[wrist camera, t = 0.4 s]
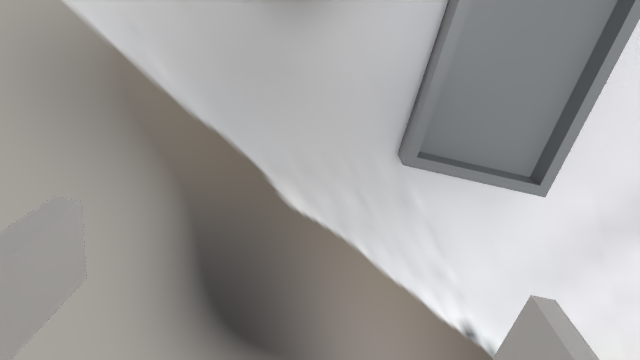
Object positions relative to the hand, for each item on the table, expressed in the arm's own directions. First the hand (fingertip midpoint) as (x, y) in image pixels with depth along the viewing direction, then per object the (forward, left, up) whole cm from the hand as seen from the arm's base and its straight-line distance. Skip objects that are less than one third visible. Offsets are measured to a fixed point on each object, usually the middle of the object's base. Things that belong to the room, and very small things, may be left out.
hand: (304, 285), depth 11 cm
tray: (-7, +15, -27) cm, 32 cm away
